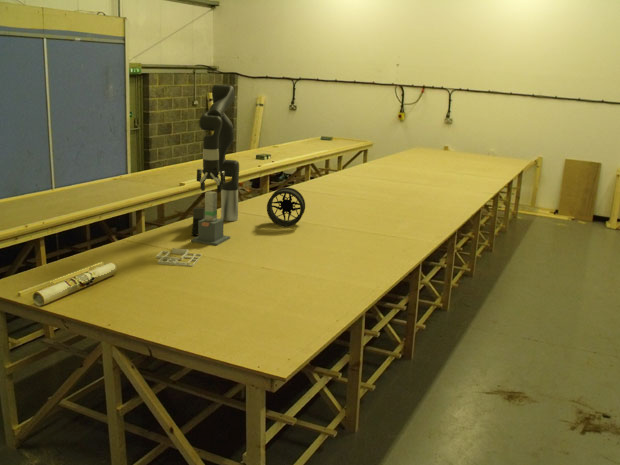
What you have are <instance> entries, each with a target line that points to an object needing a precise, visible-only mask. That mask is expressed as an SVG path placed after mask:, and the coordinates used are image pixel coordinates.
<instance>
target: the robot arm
mask: <svg viewBox="0 0 620 465" xmlns="http://www.w3.org/2000/svg"><path fill="white" fill-rule="evenodd" d="M235 94H236V92H235V88H234V86H232V85H230V84H214V85H213V86H212V89H211V97H212V104H211V105H210V107H209V109H208V111H206V112H204V113H203V114H202V115H201V116H200V118H199V121H198V125H199V128H200V130H202V131H206V132H207V131H208V132H213V133H212V134H211V135H205V136H204V137H203V141H202V142H203V144H202V147H203V148H202V149H203V151H202V168H203V169H202V168H198V169H197V170H196V182H199V183H200V190H201V191H203V192H204V191H205V190H206V180H211V181H213V180H214V182H215V183H216V185H217V187H216V188H217V189H216V190H217V191H216V192H217V194H219V193H221V194H220V195H221V196H220V197H221V198H220V199H221V201H220V202H221V204H220V210H221V211H220V212H221V213H220V214H221V215H220V219H223V222H225V221H226V222H235V221H237V220H238V219H239V183H240V182H239V178H240V176H239V175H240V163H239V161H238V160H234V159H226V154H227V152H228V150H229V148H230V147H231V145H232V143H233V142H234V139H235V133H234V132H235V129H234V125H233V123H232V121H231V119H230V118H229V117H228V116H227V115H226V113H225V112H226V111H227V109H229V108H230V106H232V104H233V103H234V101H235V96H236V95H235ZM202 174H203V176H202ZM226 178H231V180H229V181H226Z"/></svg>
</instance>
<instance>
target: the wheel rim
mask: <svg viewBox="0 0 620 465" xmlns="http://www.w3.org/2000/svg"><path fill="white" fill-rule="evenodd" d="M287 195H288V197H286V196H287ZM278 196H281V197H282V199H281V200H279V199H278ZM293 197H294V198H295V199H296V201H293ZM275 199H276V201H274V200H275ZM273 204H278V206H277V205H273ZM296 205H297V206H299V207H296ZM273 208H275V209H276V210H275V212H274V209H273ZM305 209H306V201H305V198H304V196H303V194H302V193H301V192H299V191H298V190H297V189H295V188H292V187H289V186H287V187H286V186H285V187H281V188H279V189H277V190H275V191H274V192H273V193H272V195H271V196H270V198H269V199H268V201H267V204H266V212H267V213H266V214H267V216H268V218H269V219H270V220H271V221H272V222H273V223H274V224H275V225H277V226H279V227H285V228H286V227H292V226H295V225H296V224H297V223H299V221H301V219H302V217H303V214H304V213H305V211H306V210H305ZM278 210H279V211H281V210H282V211H281V214H279V215H277V214H276V213H277V212H278ZM298 210H299V212H298ZM292 212H295V213H296V214H297V216H295V215H293V214H292ZM286 215H287V217H286ZM280 216H282V217H283V219H282V218H280ZM290 217H292V218H293V219H290ZM286 218H287V220H286Z"/></svg>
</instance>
